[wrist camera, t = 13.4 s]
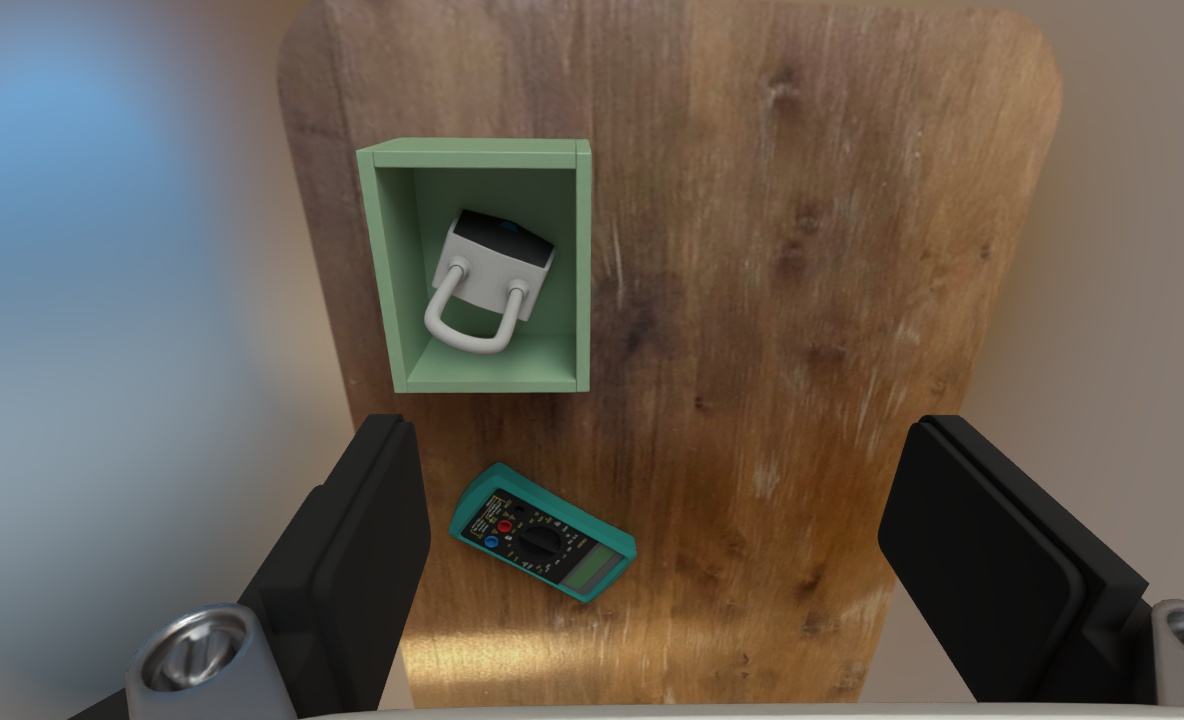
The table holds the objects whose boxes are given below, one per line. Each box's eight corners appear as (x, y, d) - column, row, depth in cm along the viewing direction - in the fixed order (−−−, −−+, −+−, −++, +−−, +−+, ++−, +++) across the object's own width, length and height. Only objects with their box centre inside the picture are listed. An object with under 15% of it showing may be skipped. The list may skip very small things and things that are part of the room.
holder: (588, 139, 35) (592, 152, 28) (587, 339, 41) (589, 392, 34) (399, 137, 35) (355, 150, 28) (425, 340, 41) (394, 393, 34)
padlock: (560, 240, 37) (552, 330, 23) (538, 296, 39) (518, 410, 25) (461, 200, 36) (393, 271, 22) (442, 260, 37) (368, 360, 24)
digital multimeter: (492, 452, 45) (487, 475, 42) (638, 535, 49) (641, 560, 47) (446, 511, 48) (438, 536, 45) (588, 585, 52) (588, 612, 49)
